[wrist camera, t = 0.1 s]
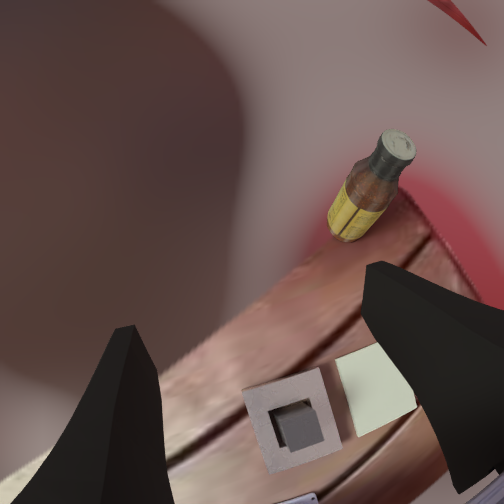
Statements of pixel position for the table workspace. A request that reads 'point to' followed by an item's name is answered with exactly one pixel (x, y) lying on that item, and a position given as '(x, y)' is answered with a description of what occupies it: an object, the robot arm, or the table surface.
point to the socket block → (283, 394)
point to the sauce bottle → (370, 187)
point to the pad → (374, 388)
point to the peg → (298, 426)
